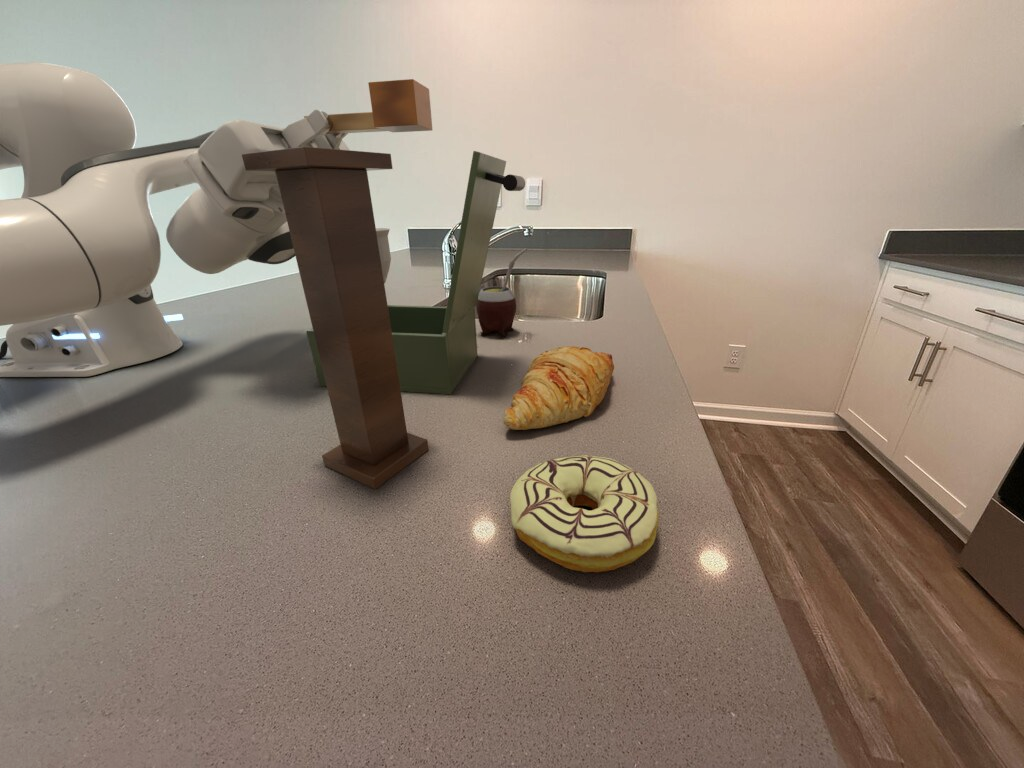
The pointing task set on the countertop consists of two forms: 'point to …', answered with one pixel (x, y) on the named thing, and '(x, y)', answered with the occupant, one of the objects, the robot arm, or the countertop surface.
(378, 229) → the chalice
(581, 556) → the decorated donut
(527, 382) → the croissant
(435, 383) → the bin
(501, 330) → the mate gourd
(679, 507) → the countertop surface
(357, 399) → the pedestal stand
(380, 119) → the brown piece
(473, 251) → the bin lid
